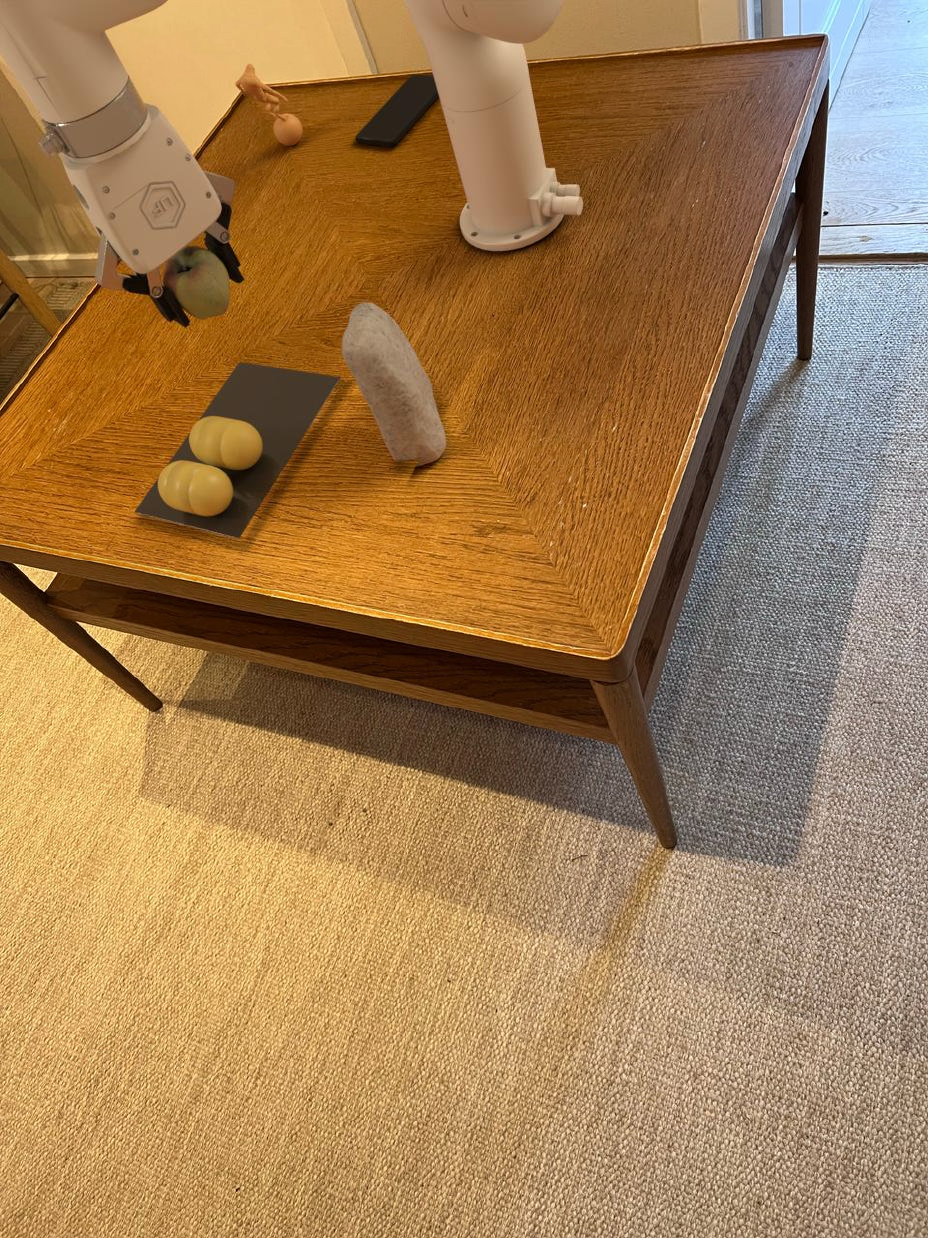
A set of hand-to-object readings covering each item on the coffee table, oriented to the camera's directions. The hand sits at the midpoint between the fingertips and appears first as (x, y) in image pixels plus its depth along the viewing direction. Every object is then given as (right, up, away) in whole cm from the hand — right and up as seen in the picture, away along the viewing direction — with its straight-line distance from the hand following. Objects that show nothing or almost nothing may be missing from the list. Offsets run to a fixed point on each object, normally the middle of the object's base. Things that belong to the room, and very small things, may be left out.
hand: (206, 297), depth 87 cm
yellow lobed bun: (+1, -14, +8) cm, 16 cm away
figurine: (0, +36, +41) cm, 55 cm away
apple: (0, -1, +1) cm, 1 cm away
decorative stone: (+20, -11, +6) cm, 24 cm away
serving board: (+1, -13, +10) cm, 17 cm away
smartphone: (+17, +39, +38) cm, 57 cm away
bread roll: (-1, -19, +5) cm, 20 cm away
